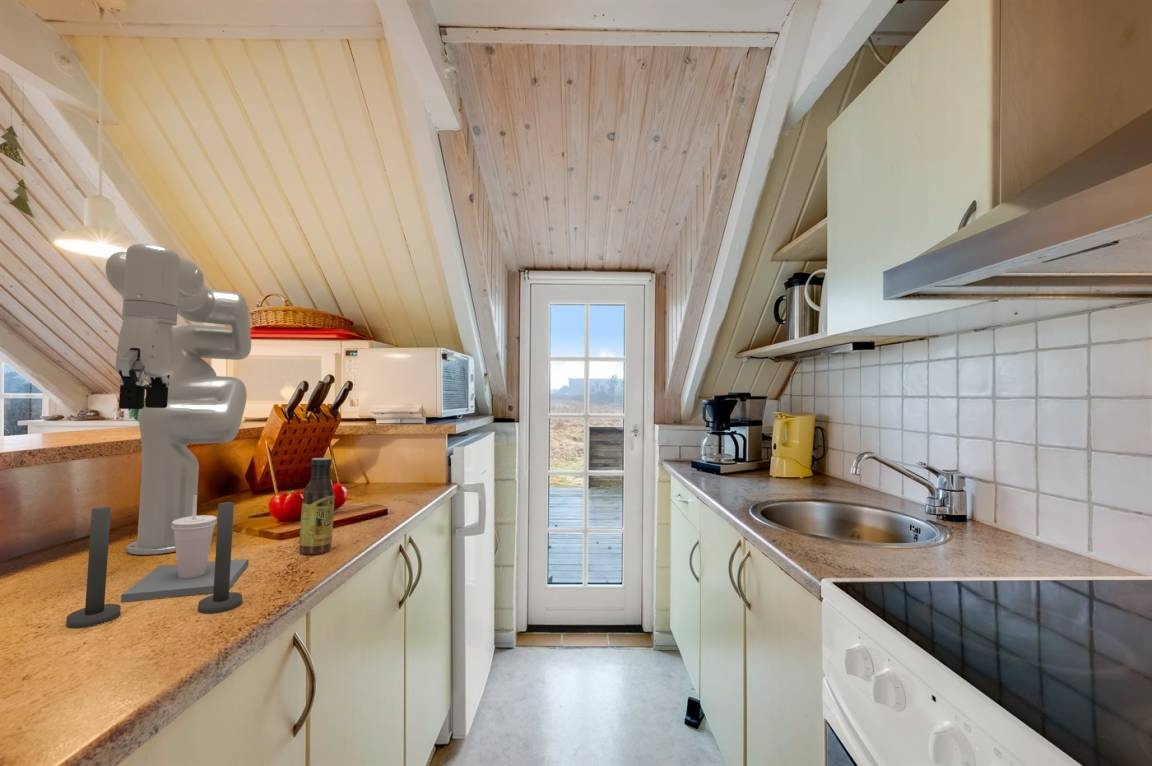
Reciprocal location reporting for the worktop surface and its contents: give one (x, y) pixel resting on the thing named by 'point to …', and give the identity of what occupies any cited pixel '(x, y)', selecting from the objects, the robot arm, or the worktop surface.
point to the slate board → (179, 582)
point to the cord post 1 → (96, 576)
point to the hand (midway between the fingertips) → (144, 408)
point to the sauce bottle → (317, 509)
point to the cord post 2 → (222, 566)
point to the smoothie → (193, 542)
